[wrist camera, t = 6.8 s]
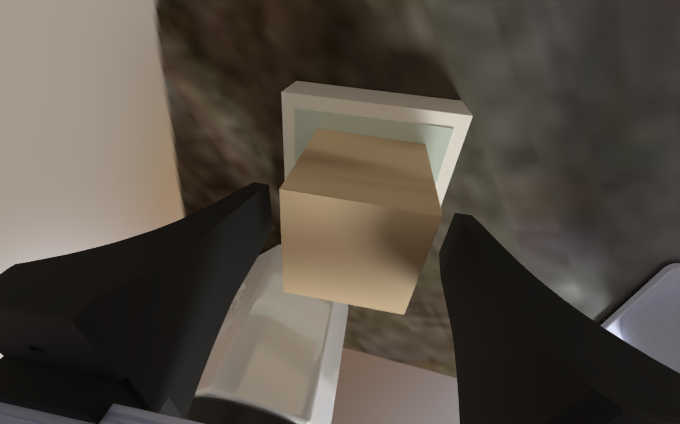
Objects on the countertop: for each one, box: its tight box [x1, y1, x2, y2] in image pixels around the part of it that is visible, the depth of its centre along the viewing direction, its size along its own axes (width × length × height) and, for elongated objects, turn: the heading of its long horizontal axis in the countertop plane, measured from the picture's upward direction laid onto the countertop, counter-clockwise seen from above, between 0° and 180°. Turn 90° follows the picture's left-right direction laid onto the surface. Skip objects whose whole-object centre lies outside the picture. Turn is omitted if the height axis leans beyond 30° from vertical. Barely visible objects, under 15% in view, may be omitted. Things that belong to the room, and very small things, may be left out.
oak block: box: [279, 128, 443, 315], centre depth 11 cm, size 4×4×5 cm
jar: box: [186, 244, 348, 424], centre depth 17 cm, size 9×8×12 cm
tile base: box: [281, 81, 473, 207], centre depth 14 cm, size 8×8×2 cm
